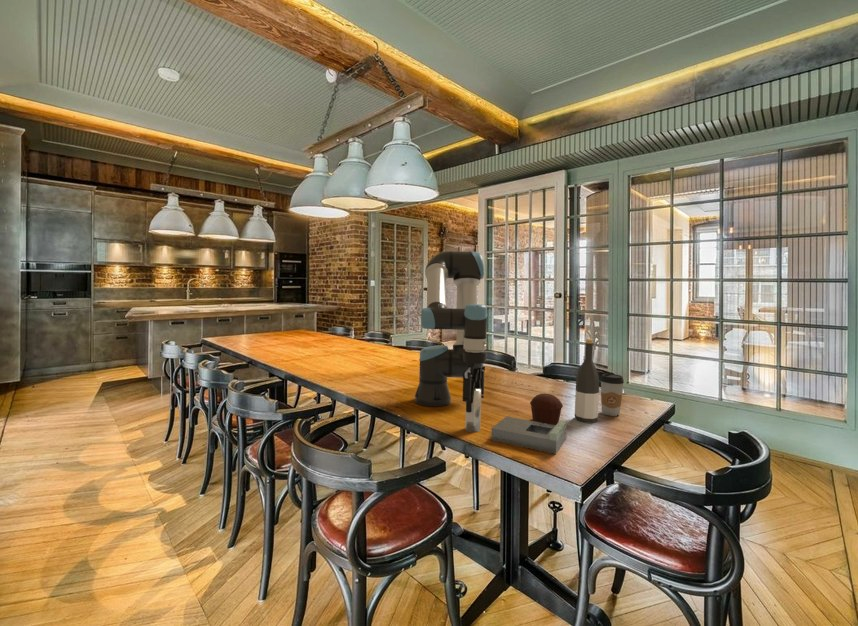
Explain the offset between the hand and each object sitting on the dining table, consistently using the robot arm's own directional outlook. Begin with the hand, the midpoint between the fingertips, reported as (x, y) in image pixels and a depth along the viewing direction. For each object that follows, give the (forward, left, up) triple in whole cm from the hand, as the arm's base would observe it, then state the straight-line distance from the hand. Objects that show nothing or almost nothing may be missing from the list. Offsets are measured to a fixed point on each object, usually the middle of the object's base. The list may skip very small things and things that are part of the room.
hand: (472, 418), depth 139 cm
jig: (+19, +1, -4) cm, 19 cm away
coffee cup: (+38, +46, -4) cm, 60 cm away
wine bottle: (+31, +33, -4) cm, 45 cm away
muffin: (+19, +22, -4) cm, 29 cm away
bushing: (0, 0, -4) cm, 4 cm away
